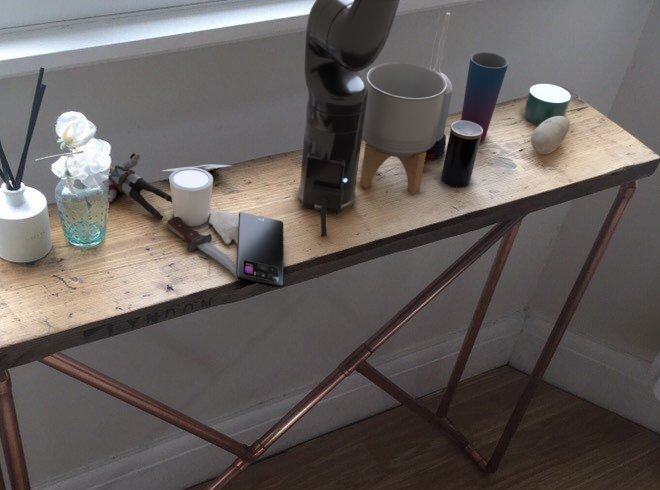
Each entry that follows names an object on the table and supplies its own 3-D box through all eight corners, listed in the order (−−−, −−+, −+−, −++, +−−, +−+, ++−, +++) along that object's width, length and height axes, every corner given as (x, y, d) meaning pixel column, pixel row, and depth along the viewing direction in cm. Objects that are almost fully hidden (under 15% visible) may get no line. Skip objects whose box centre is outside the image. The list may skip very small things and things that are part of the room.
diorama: (228, 161, 155) (229, 172, 156) (160, 167, 153) (161, 178, 154) (234, 166, 148) (235, 177, 148) (162, 173, 146) (163, 184, 147)
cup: (446, 134, 168) (462, 57, 157) (469, 124, 171) (486, 48, 161) (474, 149, 164) (492, 71, 154) (497, 138, 168) (516, 62, 158)
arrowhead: (232, 239, 135) (193, 215, 141) (233, 250, 136) (194, 225, 142) (267, 225, 138) (227, 202, 144) (267, 235, 139) (227, 212, 145)
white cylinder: (205, 201, 146) (205, 164, 141) (218, 224, 141) (218, 186, 136) (165, 207, 143) (163, 169, 139) (176, 231, 139) (175, 192, 134)
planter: (386, 204, 149) (403, 105, 136) (339, 169, 156) (350, 72, 144) (442, 183, 155) (463, 87, 142) (394, 150, 162) (409, 56, 150)
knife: (259, 259, 133) (237, 274, 130) (259, 266, 134) (237, 281, 131) (176, 214, 140) (154, 227, 137) (176, 221, 141) (154, 234, 138)
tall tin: (468, 190, 154) (480, 138, 147) (437, 184, 154) (448, 132, 147) (472, 175, 157) (484, 124, 150) (442, 169, 158) (453, 118, 151)
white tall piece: (422, 165, 159) (449, 26, 142) (390, 145, 163) (412, 9, 146) (453, 152, 163) (482, 16, 146) (421, 133, 167) (446, -1, 150)
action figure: (136, 224, 137) (74, 179, 143) (158, 237, 143) (98, 194, 149) (169, 174, 136) (105, 131, 142) (190, 190, 142) (129, 148, 148)
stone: (524, 143, 162) (539, 100, 167) (529, 169, 166) (544, 126, 172) (556, 142, 159) (570, 98, 164) (560, 169, 163) (574, 125, 169)
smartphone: (239, 209, 138) (238, 213, 139) (236, 276, 129) (235, 280, 130) (284, 218, 140) (282, 223, 141) (284, 286, 130) (282, 290, 131)
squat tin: (562, 129, 172) (570, 105, 169) (521, 122, 173) (528, 98, 170) (564, 111, 178) (571, 88, 174) (525, 104, 179) (531, 80, 176)
